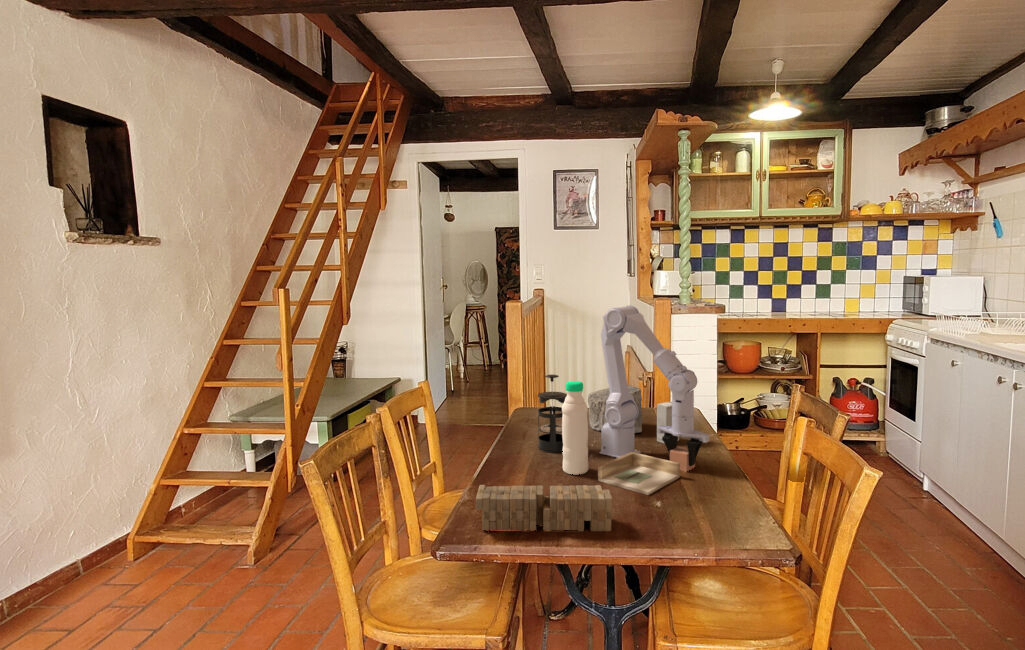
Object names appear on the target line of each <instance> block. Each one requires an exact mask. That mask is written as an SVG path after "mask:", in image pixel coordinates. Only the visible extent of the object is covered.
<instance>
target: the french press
mask: <svg viewBox="0 0 1025 650" xmlns="http://www.w3.org/2000/svg"><path fill="white" fill-rule="evenodd" d="M545 378H548V379H550V382H551V391H544V392H540V393H538V394H537V397H538V402H539V403H540V404H545V403H546V402H547V401H549V400H551V405H549V406H545V407H540V408H538V410H537V420H538V421H537V427H538V431H537V433H538V436H537V438H538V445H537V449H538V448H539V449H540V450H543V451H546V452H545V453H548V452H558V453H562V452H561V451H563V438H562V424H556V421H557V420H556V419H561V418H562V416H563V413H562V406H561V407H559V406H556V405H554V400H555V401H557V402H559V403H560V404H563V403H564V402H565V399H566V397H567V395H568V393H567V392H566V393H565V392H562V391H554V388H553V384H554V383H553V382H554V378H555V379H557V378H559V375H558V374H545ZM544 412H545V413H544ZM546 412H549V413H546ZM556 412H560V413H556ZM540 418H543V419H544V418H545V419H549V424H543V425H540ZM540 432H541V433H544V434H541V435H540ZM539 449H538V450H539ZM540 450H539V451H540ZM543 451H542V452H543Z"/></svg>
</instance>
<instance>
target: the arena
mask: <svg viewBox="0 0 1025 650" xmlns="http://www.w3.org/2000/svg"><path fill="white" fill-rule="evenodd" d="M679 478H681V471H680V463H677V462H672V461H670V460H668V459H663V458H659V457H655V456H651V455H647V454H642V453H640V454H639V453H635V452H630V453H627V454H625V455H623V456H621V457H619V458H616V457H615V459H612V460H610V461H608V462H606V463H603V464H601V465H599V466H598V467H597V481H598V482H601V483H604V484H608V485H611V486H615V487H618V488H621V489H626V490H629V491H633V492H636V493H639V494H643V495H646V496H650V495H652V494H653V493H654V492H657V491H658V490H660V489H661V488H663V487H665V486H667V485H668V484H671V483H673V482H674V481H676V480H677V479H679Z"/></svg>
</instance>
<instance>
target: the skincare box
mask: <svg viewBox="0 0 1025 650" xmlns="http://www.w3.org/2000/svg"><path fill="white" fill-rule="evenodd" d="M660 425H664V426H672V401H668V402H667V401H666V402H661V403H656V428H657V427H658V426H660ZM663 436H664V433H661V434H660V433H657V432H656V442H658V443H661V444H664V445H665V443H664V442H663V440H662V437H663ZM679 441H680V437H678V441H677V442H679Z"/></svg>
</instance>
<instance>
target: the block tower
mask: <svg viewBox="0 0 1025 650" xmlns="http://www.w3.org/2000/svg"><path fill="white" fill-rule="evenodd" d="M475 510H481V511H482V519H481V520H482V527H481V528H482V530H509V529H510V530H524V529H528V530H529V529H530V530H536V531H537V526H536V525H543V526H542V531H543V530H578V531H577V532H584V530H585V522H588V525H589V530H591V531H590V532H611V531H612V516H613V515H612V511H613V497H612V494H611V491H610V489H603V487H602V485H600V484H598V485H597V484H596V485H585V484H584V485H550V486H549V495H546V496H545V495H544V485H519V484H518V485H510V486H509V485H508V486H507V485H504V486H503V485H499V486H495V485H493V486H486V485H485V484H479V487H478V490H477V493H476V497H475ZM482 530H481V531H482Z"/></svg>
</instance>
